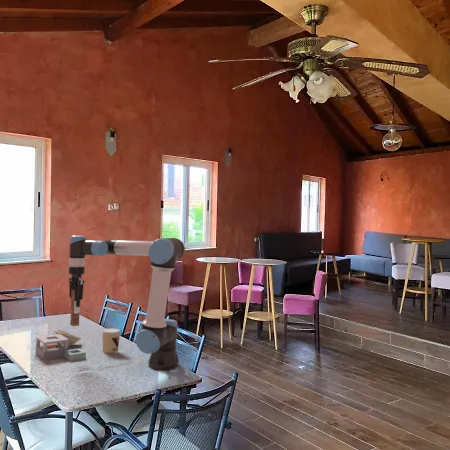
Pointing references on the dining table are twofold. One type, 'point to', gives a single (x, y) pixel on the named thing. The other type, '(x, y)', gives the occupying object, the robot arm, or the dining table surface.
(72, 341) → the bowl
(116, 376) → the dining table surface
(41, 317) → the dining table surface
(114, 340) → the coffee cup
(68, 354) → the holder
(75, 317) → the brown wooden bar
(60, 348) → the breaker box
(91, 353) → the dining table surface
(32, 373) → the dining table surface
